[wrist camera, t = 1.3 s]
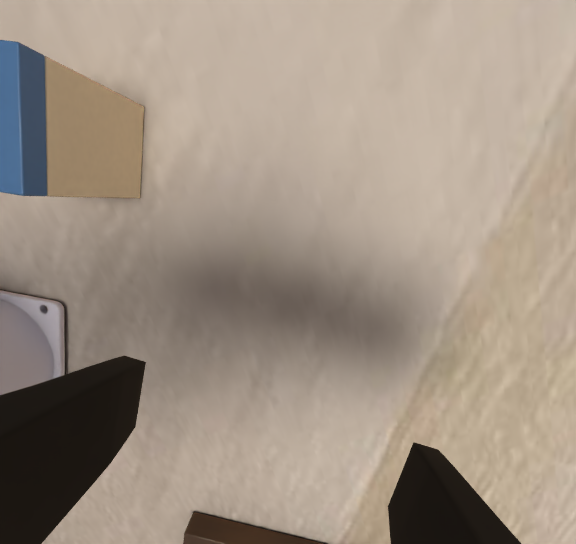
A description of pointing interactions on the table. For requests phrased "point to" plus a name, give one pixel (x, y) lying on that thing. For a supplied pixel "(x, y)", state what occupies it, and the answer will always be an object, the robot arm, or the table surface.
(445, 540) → the robot arm
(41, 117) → the carton
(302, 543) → the board
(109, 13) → the table surface
